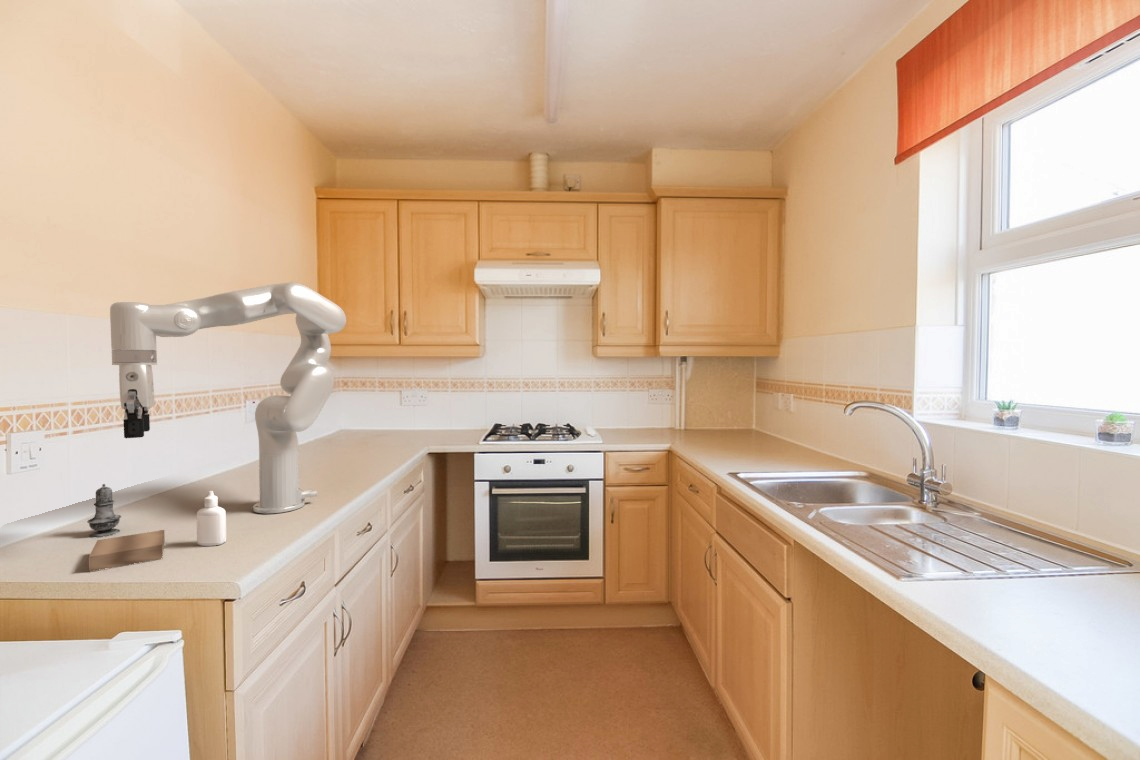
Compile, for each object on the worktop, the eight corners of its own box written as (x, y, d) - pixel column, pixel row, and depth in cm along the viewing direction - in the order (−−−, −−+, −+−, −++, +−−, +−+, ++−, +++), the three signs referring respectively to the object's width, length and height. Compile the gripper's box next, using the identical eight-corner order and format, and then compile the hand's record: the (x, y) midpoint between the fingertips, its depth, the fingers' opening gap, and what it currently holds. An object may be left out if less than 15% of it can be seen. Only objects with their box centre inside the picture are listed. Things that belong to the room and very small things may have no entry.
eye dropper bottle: (206, 549, 108) (205, 495, 107) (194, 543, 111) (194, 491, 110) (228, 543, 112) (227, 491, 111) (216, 538, 115) (216, 487, 114)
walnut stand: (164, 542, 111) (164, 529, 111) (162, 558, 102) (161, 544, 102) (97, 553, 104) (97, 540, 104) (89, 572, 96) (88, 557, 96)
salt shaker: (128, 529, 119) (127, 481, 119) (103, 538, 113) (101, 487, 113) (106, 528, 120) (105, 480, 119) (80, 537, 114) (79, 486, 113)
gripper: (152, 358, 104) (154, 438, 105) (160, 358, 118) (163, 428, 119) (103, 358, 100) (107, 441, 101) (119, 357, 114) (121, 430, 115)
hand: (137, 434), depth 110 cm, fingers open, 9 cm apart
